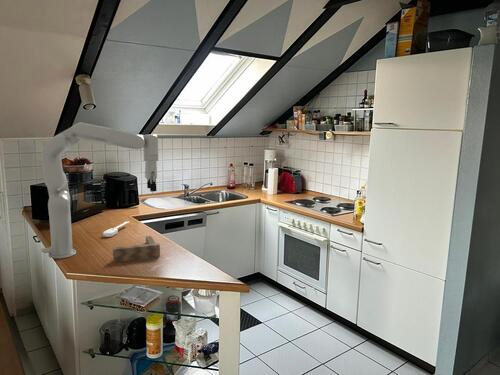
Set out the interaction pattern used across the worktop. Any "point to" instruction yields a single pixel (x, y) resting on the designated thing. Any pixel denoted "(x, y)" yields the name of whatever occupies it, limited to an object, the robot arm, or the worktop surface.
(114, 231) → the white toy guitar
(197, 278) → the worktop surface
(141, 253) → the brown angled block
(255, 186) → the worktop surface
